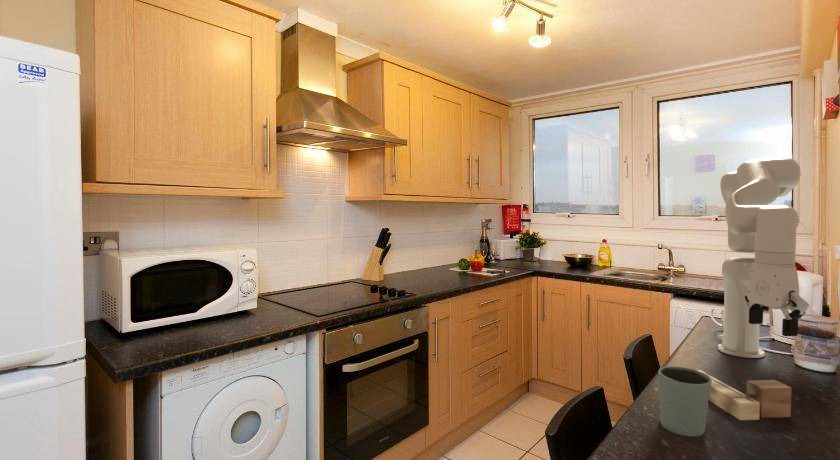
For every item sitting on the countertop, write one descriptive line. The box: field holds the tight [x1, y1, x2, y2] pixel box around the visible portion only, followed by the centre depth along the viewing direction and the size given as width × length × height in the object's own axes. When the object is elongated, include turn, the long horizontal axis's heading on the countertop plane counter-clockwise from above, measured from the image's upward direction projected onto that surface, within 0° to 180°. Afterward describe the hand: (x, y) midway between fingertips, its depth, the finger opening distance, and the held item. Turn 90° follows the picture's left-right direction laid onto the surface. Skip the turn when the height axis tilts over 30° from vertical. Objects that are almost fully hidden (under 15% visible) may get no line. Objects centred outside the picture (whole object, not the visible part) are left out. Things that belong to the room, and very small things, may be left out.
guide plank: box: [696, 369, 760, 421], centre depth 110 cm, size 20×4×4 cm, turn 2°
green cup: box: [658, 365, 712, 437], centre depth 97 cm, size 10×10×12 cm
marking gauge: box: [745, 379, 793, 419], centre depth 104 cm, size 4×10×7 cm, turn 92°
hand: (771, 329), depth 105 cm, fingers open, 9 cm apart
